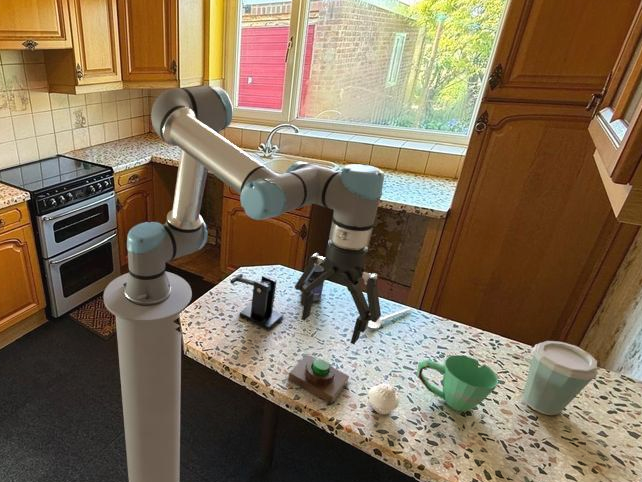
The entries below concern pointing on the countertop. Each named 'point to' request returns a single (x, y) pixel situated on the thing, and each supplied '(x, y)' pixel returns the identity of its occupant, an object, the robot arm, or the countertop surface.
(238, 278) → the lever
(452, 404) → the mug
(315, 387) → the switch block
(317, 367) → the button
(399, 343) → the countertop surface
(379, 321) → the white spoon
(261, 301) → the switch bracket
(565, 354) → the disposable coffee cup
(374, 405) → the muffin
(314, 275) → the pill bottle
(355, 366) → the countertop surface
